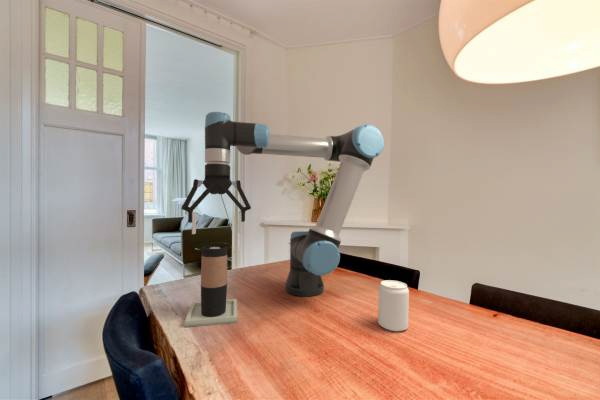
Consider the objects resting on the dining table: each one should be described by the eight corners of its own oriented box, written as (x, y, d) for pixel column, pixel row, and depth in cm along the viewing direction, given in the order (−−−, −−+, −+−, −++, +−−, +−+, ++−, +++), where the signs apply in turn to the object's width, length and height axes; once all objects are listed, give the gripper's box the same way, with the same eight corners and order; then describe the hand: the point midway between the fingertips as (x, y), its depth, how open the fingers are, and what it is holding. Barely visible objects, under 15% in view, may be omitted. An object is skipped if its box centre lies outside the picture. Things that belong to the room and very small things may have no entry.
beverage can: (407, 322, 80) (408, 281, 80) (408, 335, 72) (409, 290, 72) (378, 317, 82) (379, 278, 82) (377, 329, 75) (378, 286, 75)
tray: (236, 303, 91) (236, 299, 91) (237, 322, 78) (237, 317, 78) (192, 307, 88) (192, 302, 88) (184, 327, 74) (184, 321, 74)
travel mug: (194, 314, 81) (195, 247, 81) (211, 305, 88) (213, 243, 88) (215, 319, 78) (216, 249, 78) (231, 309, 85) (232, 245, 85)
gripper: (257, 167, 91) (256, 230, 91) (176, 164, 84) (175, 232, 84) (259, 164, 84) (259, 233, 84) (171, 161, 77) (171, 235, 77)
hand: (217, 233), depth 84 cm, fingers open, 13 cm apart
